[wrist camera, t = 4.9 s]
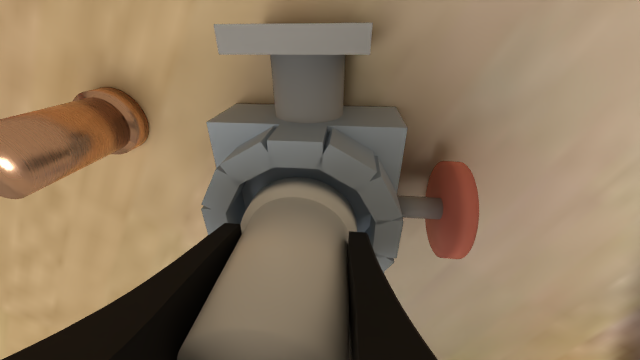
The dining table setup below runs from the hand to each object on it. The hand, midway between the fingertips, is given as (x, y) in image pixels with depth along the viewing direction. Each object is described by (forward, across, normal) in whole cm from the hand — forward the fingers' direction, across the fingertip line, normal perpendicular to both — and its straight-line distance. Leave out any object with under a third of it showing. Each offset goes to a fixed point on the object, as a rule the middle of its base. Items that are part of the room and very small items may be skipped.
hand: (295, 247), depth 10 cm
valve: (+6, -1, 0) cm, 6 cm away
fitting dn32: (+6, +11, -3) cm, 13 cm away
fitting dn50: (+2, 0, 0) cm, 2 cm away
